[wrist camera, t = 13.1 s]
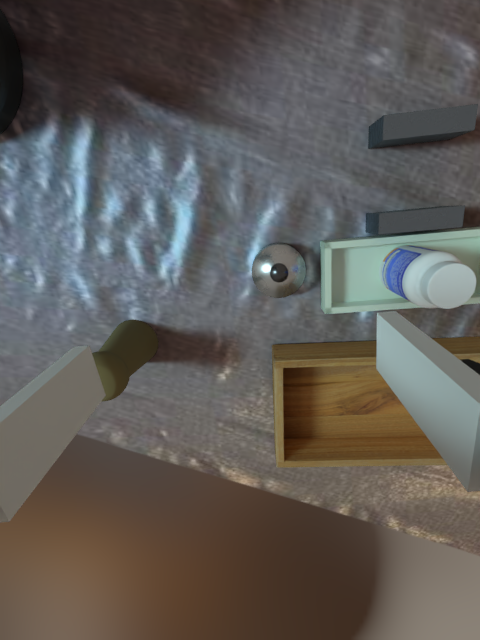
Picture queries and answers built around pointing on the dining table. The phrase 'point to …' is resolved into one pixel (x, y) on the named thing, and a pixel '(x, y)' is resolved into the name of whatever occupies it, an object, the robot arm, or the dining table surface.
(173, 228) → the dining table surface
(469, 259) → the tray
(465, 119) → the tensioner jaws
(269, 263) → the silver pot lid
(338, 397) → the tray
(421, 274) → the pill bottle
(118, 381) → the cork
